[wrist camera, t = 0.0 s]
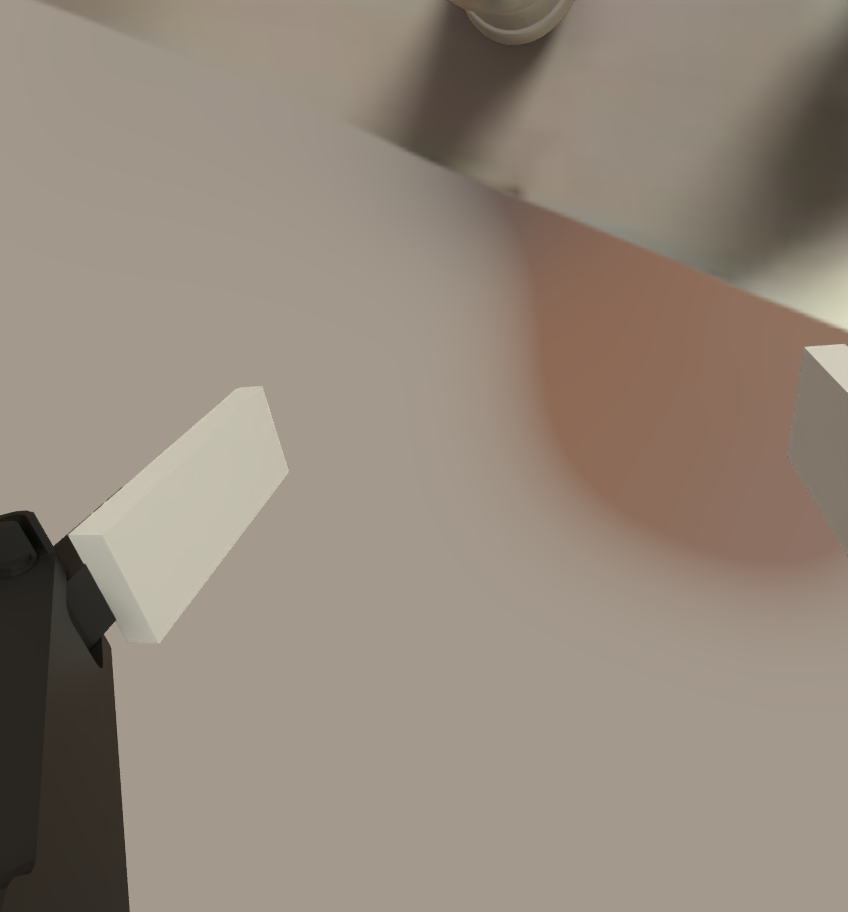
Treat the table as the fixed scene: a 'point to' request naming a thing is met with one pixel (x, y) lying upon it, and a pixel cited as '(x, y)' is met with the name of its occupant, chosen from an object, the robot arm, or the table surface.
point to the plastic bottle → (515, 18)
